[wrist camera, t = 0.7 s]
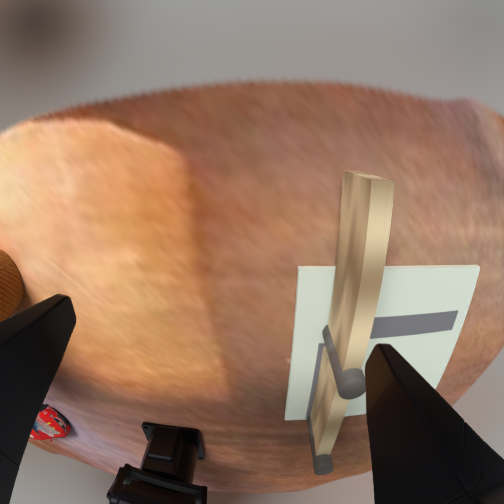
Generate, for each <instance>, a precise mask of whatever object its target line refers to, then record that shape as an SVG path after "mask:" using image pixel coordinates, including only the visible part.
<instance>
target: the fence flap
mask: <svg viewBox="0 0 504 504" xmlns="http://www.w3.org/2000/svg"><path fill="white" fill-rule="evenodd" d="M394 183H395V182H394V181H391V180H387V179H384V178H381V177H378V176H375V175H372V174H368V173H365V172H362V171H349V170H343V178H342V197H341V212H340V226H339V237H338V248H337V258H336V268H335V277H334V285H333V293H332V301H331V308H330V315H329V322H328V325H326V326H325V327H324V329H323V332H322V335H323V338H324V342H325V345H326V349H327V352H328V356H329V360H330V363H331V367H332V370H333V374H334V378H335V381H336V385H337V389H338V393H339V396H340V397H341V398H343V399H347V400H350V399H355V398H358V397H360V396H361V395H363V394H364V393H365V392H366V389H365V376H364V373H363V371H362V365H363V362H364V358H365V354H366V351H367V347H368V343H369V339H370V335H371V331H372V326H373V322H374V318H375V313H376V309H377V304H378V299H379V294H380V289H381V284H382V278H383V272H384V266H385V260H386V254H387V247H388V240H389V233H390V225H391V216H392V206H393V196H394Z"/></svg>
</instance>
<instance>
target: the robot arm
mask: <svg viewBox="0 0 504 504" xmlns="http://www.w3.org/2000/svg"><path fill="white" fill-rule="evenodd" d="M75 324H76V315H75V311H74V308H73V304H72V301H71V299H70V297H69V296H66V295H63V294H56V295H54V296H52V297H50V298H48V299H46V300H44V301H42V302H40V303H37V304H35V305H33V306H31V307H29V308H27V309H25V310H23V311H21V312H19V313H17V314H15V315H13V316H11V317H9V318H7V319H5V320H3V321H1V322H0V504H9V503H10V499H11V495H12V491H13V487H14V484H15V480H16V476H17V473H18V470H19V466H20V463H21V460H22V457H23V454H24V451H25V448H26V445H27V442H28V440H29V437H30V434H31V431H32V429H33V426H34V423H35V421H36V418H37V416H38V413H39V411H40V408H41V406H42V404H43V401H44V399H45V397H46V394H47V392H48V390H49V387H50V385H51V383H52V381H53V379H54V376H55V374H56V372H57V370H58V368H59V366H60V363H61V361H62V358H63V355H64V353H65V350H66V347H67V345H68V342H69V339H70V337H71V334H72V332H73V329H74V327H75ZM365 389H366V416H367V425H368V433H369V441H370V450H371V460H372V472H373V484H374V500H375V504H504V459H503V458H502V457H501V456H500V455H498V454H497V453H496V452H495V451H494V450H493V449H492V448H491V447H490V446H489V445H488V444H487V443H486V442H484V441H483V440H482V439H481V438H480V436H479V435H477V433H476V432H475V431H474V430H473V429H472V428H471V427H470V426H469V425H468V424H467V423H466V422H464V420H463V418H461V416H460V415H459V414H458V413H457V412H456V411H455V410H454V409H453V408H452V407H451V406H450V405H449V404H448V403H447V402H446V400H445V399H444V398H443V397H442V396H441V395H440V394H439V393H438V392H437V391H436V390H435V389H434V388H433V387H432V386H431V385H430V384H429V383H428V382H427V381H426V380H425V379H424V378H423V377H422V376H421V375H420V374H419V373H418V372H417V370H416V369H415V368H414V367H413V366H412V365H411V364H410V363H409V362H408V361H407V360H406V359H405V358H404V357H403V356H402V355H401V354H400V353H399V352H398V351H397V350H396V349H395V348H394V347H393V346H392V345H390V344H387V343H378V344H376V345H375V346H374V348H373V350H372V352H371V354H370V356H369V357H368V359H367V361H366V364H365ZM142 429H143V431H144V433H145V435H146V438H147V440H148V444H147V447H146V450H145V453H144V456H143V460H142V463H141V466H140V469H138V468H135V467H133V466H131V465H129V464H125V466H124V467H120V468H119V471H118V474H117V476H116V479H115V481H114V483H113V485H112V486H111V488H110V489H109V491H108V493H107V498H108V500H109V502H110V504H207V503H206V502H207V486H198V485H194V484H192V483H193V477H194V472H195V466H196V460H197V459H198V460H204V459H205V453H204V449H203V445H202V441H201V437H200V433H199V431H198V430H196V429H190V428H182V427H174V426H166V425H159V424H153V423H147V422H143V423H142Z"/></svg>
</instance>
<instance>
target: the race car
mask: <svg viewBox="0 0 504 504" xmlns="http://www.w3.org/2000/svg"><path fill="white" fill-rule="evenodd" d="M69 432H70V426H69V424H68V422H67V421H66V420H65V419H64V418H63V417H62V416H61V415H60V414H59V413H58V412H57V411H55V410H54V409H52V408H51V407H49V406H48V405H47V404H46V405H44V404H42V406H41V408H40V411H39V413H38V416H37V418H36V421H35V423H34V426H33V429H32V431H31V434H30V438H33V439H38V440H46V439H49V440H50V441H51V442H52V439H51V438H58V437H66V436H67V435H68V434H69Z"/></svg>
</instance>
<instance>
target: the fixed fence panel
mask: <svg viewBox="0 0 504 504" xmlns="http://www.w3.org/2000/svg"><path fill="white" fill-rule="evenodd" d="M348 403H349V400H347V399H343V398H341V397H340V396H339V393H338V389H337V385H336V381H335V378H334V374H333V370H332V367H331V363H330V360H329V356H328V352H327V349H326V346H323V352H322V358H321V364H320V369H319V375H318V380H317V385H316V391H315V396H314V400H313V405H312V410H311V415H310V416H309V417H308V426H309V434H310V441H311V449H312V457H313V465H314V473H315V474H317V475H325V474H328V473H330V472H332V471H333V465H332V459H331V451H332V448H333V446H334V443H335V440H336V438H337V435H338V432H339V429H340V427H341V424H342V421H343V418H344V415H345V412H346V409H347V406H348Z"/></svg>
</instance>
